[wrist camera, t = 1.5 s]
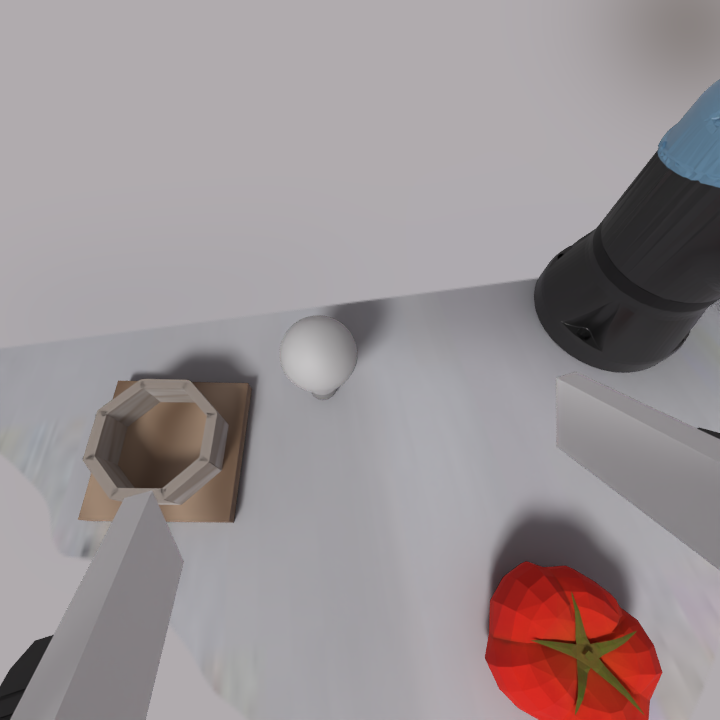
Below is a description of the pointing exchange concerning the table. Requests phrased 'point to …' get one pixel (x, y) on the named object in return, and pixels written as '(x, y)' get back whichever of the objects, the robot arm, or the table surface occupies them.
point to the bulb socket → (168, 449)
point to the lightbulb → (318, 355)
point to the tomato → (568, 648)
